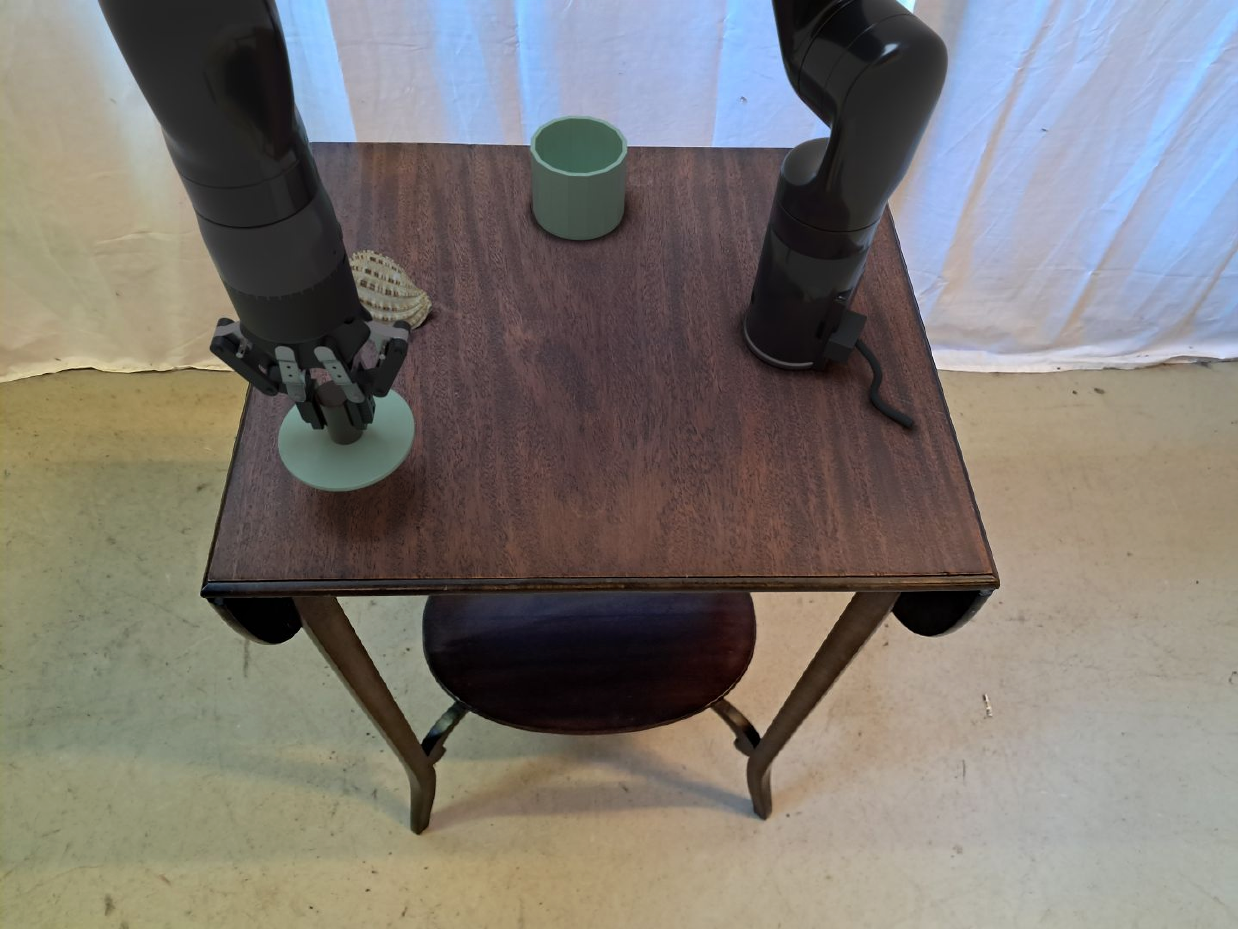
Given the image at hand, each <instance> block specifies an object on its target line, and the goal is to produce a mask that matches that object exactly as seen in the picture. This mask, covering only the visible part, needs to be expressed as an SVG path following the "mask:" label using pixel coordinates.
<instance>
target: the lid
mask: <svg viewBox="0 0 1238 929" xmlns="http://www.w3.org/2000/svg"><path fill="white" fill-rule="evenodd" d="M373 397H374V401H375V404H376V408H375V413H374V419H373V422H372V424H368V425H367V429H366V430H356V428H355V425H354V423H353V420H352V417H351V414H350V411H349V409H348V406H347V403H346V402H347V396H346V395H345V393H344V391H343V389H342V388H341V386H340V385H338V386H336V385H335V383H334V382H333V380H332V379H331V380H327V381H324V382H323V383H321V384H319V387H318V388H317V389H316V391H315V395H314V398H315V401H316V403H317V406H318V408H319V411H320V413H321V416H322V418H323V421H324V423H325V427H324V429H323V430H313V428H312V426H311V423H306V422H305V421H304V420H302V418H301V416H300V413H299V411H298V409H297V406H296V404H295V403H294V405H293V406H292V408H290V410H288V412H287V414H286V416H284V418H283V421H282V422H281V425H280V428H279V431H278V436H277V448H278V454H279V456H280V459H281V461H282V463H283V465H284V467H285V468H286V470H287V471H288V472H289V474H291V476H293V477H294V478H295V479H296V480H298V481H299V482H301V483H303V484H304V485H307V486H309V487H311V488H314V489H316V490H321V491H325V492H326V491H327V492H349V491H355V490H358V489H364V488H366V487H369V486H372V485H374V484H376V483H379V482H380V481H382V480H384V479H385V478H386V477H388V476H390V475H391V474H392V473H394V472H395V471H396V470H397V469H398V468H399V467H400V466H401V465H402V463H403V462H404V461H405V460H406V458H407V457H408V456H409V454H410V452H411V451H412V447H413V444H414V441H415V438H416V437H415V436H416V422H415V418H414V415H413V412H412V410H411V407H410V405H409V404H408V403H407V402H406V400H405V399H404V398H403V397H402V396H401V395H400V394H399V393H397V392H396V391H395V390H393V389H392V388H390V390H389V393H388V395H387V396H386V397H383V398H379V397H375V396H373Z"/></svg>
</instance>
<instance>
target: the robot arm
mask: <svg viewBox="0 0 1238 929" xmlns="http://www.w3.org/2000/svg"><path fill="white" fill-rule="evenodd" d="M770 1H771V7H772V13H773V18H774V23H775V28H776V34H777V35H776V36H777V39H778V45H779V51H780V57H781V61H782V65H783V69H784V72H785V76H786V79H787V81H788V83H789V85H790V87H791V89H792V90H793V93H794V94H795V95H796V96H797V98H799V99H800V100H801V102H802V103H803V104H804V105H805V106H806V107H807V108H808V109H809V110H810V111H811V112H812V113H813V114H814V115H815V116H816V117H817V118H818V120H820V121H821V122H822V123H823V124H825V126H827V128H828V129H829V130H830V131H829V132H830V133H829V136H824V137H817V138H812V139H808V140H806V141H803V142H801V143H799V144H796V146H794V147H793V148H792V149H790V151H789V152H788V153H787V154H786V156H784V159H783V161H782V163H781V166H780V170H779V173H778V178H777V181H776V187H775V191H774V195H773V200H772V204H771V208H770V212H769V217H768V221H767V226H766V231H765V234H764V238H763V243H762V248H761V251H760V256H759V260H758V264H757V270H756V273H755V276H754V278H753V280H752V281H753V282H751V283H752V284H751V287H752V288H751V290H750V292H751V293H750V294H749V300H748V306H747V310H746V314H745V317H744V321H743V325H742V334H743V338H744V341H745V343H746V345H747V346H748V348H749V349H750V351H751V352H752V353H753V354H754V355H755V356H756V357H758V358H759V359H760V360H762V361H763V362H765V363H767V364H769V365H771V366H774V367H777V368H780V369H785V370H790V371H791V370H794V371H800V370H807V369H808V370H809V369H813V370H816V371H819V372H823V371H824V370H825V367H826V365H827V364H828V362H829V360H833V361H834V362H838V363H839V364H843V365H845V366H846V365H847V364H848V363H849V359H850V358H851V356H852V354H853V352H854V351H855V350H854V349H855V348H856V349H857V350H858V352H859V353H860V354H861V356H863V357H864V358H865V360H866V361H867V363H868V364H869V366H870V367H871V368H870V369H871V370H872V375H873V377H872V381H871V382H870V383H871V384H870V386H869V397H870V399H871V401H872V403H873V405H874V406H875V407H876V408H877V410H879V411H880V413H882V414H884V415H885V416H887V417H888V418H890V419H892V420H895V421H896V422H898V423H900V424H902V425H904V426H905V427H906V428H908V429H909V428H911V427H912V425H913V424H914V423H915V420H914V419H913V418H911V417H909V416H907V415H906V414H904V413H902V412H901V411H899V410H896V409H894V408H892V407H891V406H889V405H888V404H887V403H886V402H885V401H884V400H883V399H882V397H881V395H880V392H879V391H880V386H881V385H882V382H883V377H884V376H883V374H884V373H883V370H882V366H881V364H880V362H879V360H878V358H877V357H876V356H875V354H874V353H873V352H872V351H871V349H870V348H869V346H867V344H865V342H864V341H863V339H862V338H860V337H861V335H862V333H863V330H864V328H865V326H866V323H867V320H868V317H869V316H867V315H864V314H862V313H859V312H857V311H854V310H851V309H852V307H853V303H854V301H855V298H856V296H857V293H858V290H859V288H860V285H861V282H862V280H863V277H864V273H865V271H866V268H867V262H866V260H867V259H868V255H869V252H870V249H871V247H872V245H873V242H874V238H875V236H876V233H877V231H878V228H879V225H880V222H881V219H882V216H883V213H884V211H885V208H886V205H887V203H888V201H889V199H890V198H891V197H892V195H893V194H894V193H895V191H896V190H897V189H898V187H899V186H900V185H901V183H902V181H903V180H904V178H905V177H906V175H907V173H908V171H909V169H910V167H911V165H912V162H913V160H914V158H915V155H916V153H917V151H918V149H919V146H920V144H921V141H922V139H923V137H924V135H925V133H926V130H927V128H928V126H929V124H930V121H931V119H932V117H933V114H934V113H935V110H936V108H937V105H938V103H939V101H940V98H941V95H942V92H943V90H944V87H945V83H946V80H947V75H948V68H949V53H948V48H947V45H946V42H945V41H944V40H943V38H942V37H941V36H940V35H939V34H938V33H937V32H936V31H935V30H934V29H932V28H931V27H930V26H929V25H927V24H926V23H925V22H924V21H923V20H922V19H920V18H919V17H918V16H916V15H915V14H914V13H913V12H911V10H909V9H908V8H906V6H904V5H903V4H902V3H901V2H899V1H898V0H770ZM97 3H98V6H99V8H100V11H101V13H102V15H103V18H104V20H105V22H106V24H107V27H108V29H109V31H110V33H111V36H112V37H113V39H114V42H115V43H116V45H117V48H118V49H119V52H120V53H121V56H122V58H123V59H124V61H125V63H126V65H127V67H128V70H129V71H130V73H131V75H132V77H133V78H134V81H135V83H136V85H137V86H138V89H139V90H140V92H141V94H142V96H143V98H145V101H146V102H147V104H148V106H149V108H150V109H151V111H152V113H153V115H154V117H155V118H156V120H157V122H158V123H159V124H160V129H161V134H162V136H163V139H164V143H165V146H166V149H167V151H168V153H169V157H170V159H171V161H172V164H173V166H174V168H175V170H176V173H177V175H178V177H179V179H180V181H181V184H182V186H183V188H184V190H185V192H186V195H187V197H188V199H189V201H190V203H191V206H192V208H193V211H194V213H195V216H196V221H197V224H198V229H199V232H200V235H201V238H202V241H203V243H204V245H205V248H206V249H207V252H208V253H209V257H210V258H211V261H212V263H213V264H214V267H215V269H216V271H217V273H218V276H219V278H220V280H221V282H222V284H223V287H224V290H225V291H226V293H227V295H228V298H229V299H230V300H229V301H230V302H231V304H232V306H233V308H234V310H235V313H236V315H237V317H238V320H236V321H234V320H233V319H232V318H229V317H220V318H219V319H218V320H217V323H216V326H215V329H214V332H213V335H212V338H211V341H210V345H209V348H208V349H209V351H210V352H211V354H213V355H214V356H215V357H216V358H218V359H219V360H220V361H222V362H223V363H224V364H225V365H227V366H228V367H229V368H230V369H231V370H233V371H234V372H236V373H237V374H238V375H239V377H242V378H243V379H244V380H245V381H246V382H248V383H249V384H251V385H252V386H253V387H254V388H255V389H257V390H258V391H259V392H260V393H262V394H263V395H264V396H267V397H276V396H277V395H278V394H279V393H280V394H284V395H287V397H288V398H289V399H290V400H291V401H293V402H294V405H295V404H296V406H297V409H298V411H299V413H300V416H301V418H302V420H304V421H305V422H306V423H311V426H312V428H313V430H323V429H324V427H325V423H324V421H323V418H322V416H321V413H320V411H319V408H318V406H317V403H316V401H315V398H314V395H315V391H316V389H317V388H318V387H319V386H320V384H319V382H318V380H317V378H312V375H313V370H312V369H322V370H326V371H327V373H328V375H329V377H330V379H331V380H333V382H334V383H335V385H336V386H338V385H340V386H341V388H342V389H343V391H344V393H345V395H346V396H347V402H346V403H347V406H348V409H349V411H350V414H351V417H352V420H353V423H354V425H355V428H356V430H366V429H367V425H368V424H372V422H373V419H374V413H375V408H376V404H375V401H374V397H373V396H375V397H379V398H383V397H386V396H387V395H388V393H389V390H390V389H392V386H393V384H394V382H395V380H396V378H397V377H398V374H399V373H400V370H401V368H402V366H403V364H404V363H405V359H406V358H407V356H408V351H409V346H410V339H411V333H412V332H411V331H412V330H411V325H410V324H409V323H408V322H406V321H403V320H398V321H396V322H395V323H394V324H393V326H392V327H391V326H388V325H385V324H382V323H379V322H376V321H373V318H372V315H371V314H370V312H369V311H368V310H367V309H366V308H365V307H364V306H363V305H362V304H361V302H360V300H359V296H358V291H357V287H356V284H355V280H354V277H353V273H352V270H351V266H350V263H349V256H348V253H347V250H346V246H345V243H344V234H343V229H342V225H341V223H340V221H339V220H338V217H337V215H336V212H335V209H334V204H333V202H332V200H331V198H330V195H329V194H328V192H327V190H326V187H325V185H324V183H323V181H322V178H321V176H320V173H319V170H318V167H317V164H316V160H315V157H314V153H313V150H312V146H311V143H310V140H309V136H308V133H307V129H306V126H305V123H304V119H303V117H302V115H301V112H300V111H299V107H298V105H297V103H296V98H295V90H294V81H293V75H292V69H291V68H292V67H291V64H290V56H289V51H288V46H287V42H286V36H285V32H284V28H283V24H282V21H281V16H280V12H279V9H278V5H277V2H276V0H97ZM368 341H371V342H373V344H374V350H375V352H376V353H377V354H378V356H377V360H376V361H375V364H374V367H370V368H368V367H367V365H366V363H365V362H364V359H363V358H362V353H361V352H362V351H361V350H362V348H363V347H364V345H365V344H366V343H367V342H368ZM260 367H262V369H264V371H262V369H261V368H260Z"/></svg>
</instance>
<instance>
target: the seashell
mask: <svg viewBox="0 0 1238 929" xmlns="http://www.w3.org/2000/svg"><path fill="white" fill-rule="evenodd" d="M348 259H349V263H350V266H351V270H352V273H353V277H354V280H355V284H356V287H357V291H358V296H359V300H360V302H361V304H362V305H363V306H364V307H365V308H366V309H367V310H368V311H369V312H370V314H371V315H372V318H373V321H376V322H379V323H382V324H385V325H388V326H391V327H392V326H393V324H394V323H395V322H396V321H398V320H403V321H406V322H408V323H409V324H410V325H411V332H410V333H413V330H414V329H416V328H417V327H420V326H421V324H422V323H423V322H424V321H425V320H426V318H427V316H428V315H429V314H430V313H431V312H432V311H433V310H434V305H433V302H432V301H431V300H432V298H431V297H430V296H429V295H428V292H426V291H424V289H421V287H417V286H416V285H415V283H414V281H413V280H412V279H411V278H410V277H409V275H408V272H406V270H405V269H404V268H403V267H402V266H401V264H399V263H398V262H397V261H395V260H394V259H392V258H391V257H389V256H387V255H385V254H382V253H380V252H377V251H374V250H369V249H364V250H359V251H357V252H353V254H352V256H351V257H348Z"/></svg>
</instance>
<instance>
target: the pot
mask: <svg viewBox="0 0 1238 929" xmlns="http://www.w3.org/2000/svg"><path fill="white" fill-rule="evenodd" d="M529 152H530V153H529V155H530V171H531V172H530V174H531V194H532V195H531V196H532V210H533V211H532V212H533V215H534V218H535V220H536V222H537V223H538V224H539V226H540V227H542V229H544V230H545V231H546V232H548V233H550V235H554V236H556V237H559V238H561V239H566V240H571V241H588V240H594V239H597V238H598V239H599V238H601V237H604V236H606V235H608V234H610V233H611V232H612V231H613V230H615V229H616V228H617V227H618V226H619V225H620V223H621V221H622V219H623V216H624V214H625V202H626V201H625V200H626V199H625V198H626V184H627V182H626V181H627V166H628V165H627V164H628V140H627V138H626V137H625V135H624V134H623V132H622V131H621V129H620V128H618V127H616V126H615V125H613V124H611V123H610V122H609V121H606V120H604V119H601V118H597V117H593V116H589V115H566V116H561V117H557V118H553V119H551V120H549V121H547V122H545V123H544V124H542V125H540V126H539V127H538V128H537V129H536V130H535V132H534V133H533V134H532V135H531V137H530V147H529Z"/></svg>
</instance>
